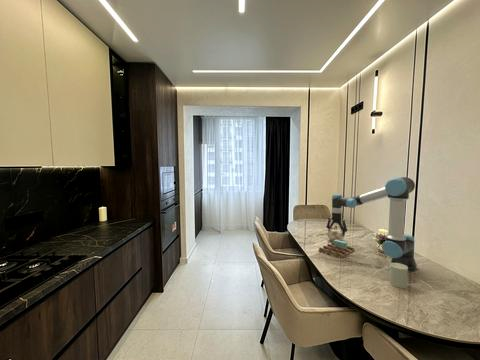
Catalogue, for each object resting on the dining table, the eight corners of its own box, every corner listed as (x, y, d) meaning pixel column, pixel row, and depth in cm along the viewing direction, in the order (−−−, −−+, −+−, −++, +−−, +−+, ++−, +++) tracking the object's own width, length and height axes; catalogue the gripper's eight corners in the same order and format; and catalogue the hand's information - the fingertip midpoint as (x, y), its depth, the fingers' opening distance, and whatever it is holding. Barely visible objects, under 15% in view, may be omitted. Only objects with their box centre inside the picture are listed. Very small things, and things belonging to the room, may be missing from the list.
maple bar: (343, 239, 189) (343, 232, 188) (340, 240, 186) (341, 233, 186) (332, 236, 196) (332, 229, 196) (329, 237, 194) (329, 230, 194)
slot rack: (354, 250, 192) (354, 247, 191) (341, 258, 177) (341, 254, 176) (332, 244, 207) (332, 241, 207) (318, 251, 192) (318, 248, 192)
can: (390, 278, 144) (390, 260, 143) (408, 283, 138) (408, 264, 137) (388, 284, 137) (389, 265, 136) (407, 289, 131) (407, 269, 130)
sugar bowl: (348, 244, 208) (348, 228, 208) (332, 244, 208) (332, 228, 207) (338, 237, 228) (338, 222, 227) (323, 237, 228) (324, 223, 227)
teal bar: (347, 249, 193) (347, 242, 193) (344, 250, 191) (344, 243, 190) (336, 246, 201) (336, 239, 201) (333, 247, 199) (333, 240, 198)
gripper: (352, 213, 183) (351, 240, 185) (326, 209, 201) (326, 234, 202) (347, 215, 179) (347, 242, 180) (322, 210, 196) (321, 235, 198)
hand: (336, 237), depth 191 cm, fingers closed on maple bar, 10 cm apart
